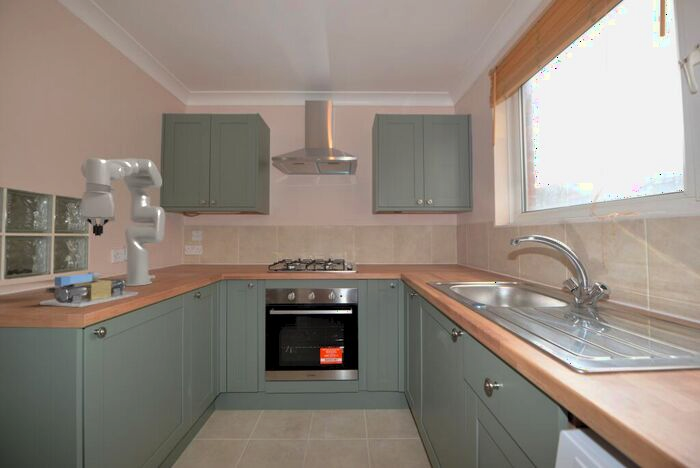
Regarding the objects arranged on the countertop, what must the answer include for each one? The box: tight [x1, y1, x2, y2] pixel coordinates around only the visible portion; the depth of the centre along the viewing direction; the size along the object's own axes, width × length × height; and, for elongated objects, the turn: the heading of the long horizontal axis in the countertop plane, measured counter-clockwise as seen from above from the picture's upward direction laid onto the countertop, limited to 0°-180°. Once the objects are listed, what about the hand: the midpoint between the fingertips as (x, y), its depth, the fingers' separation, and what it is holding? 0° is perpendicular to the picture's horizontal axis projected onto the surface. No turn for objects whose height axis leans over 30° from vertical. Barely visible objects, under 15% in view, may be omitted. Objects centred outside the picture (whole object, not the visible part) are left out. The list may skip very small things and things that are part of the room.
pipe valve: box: [39, 278, 139, 308], centre depth 122 cm, size 24×18×7 cm
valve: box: [45, 284, 75, 292], centre depth 138 cm, size 6×26×15 cm
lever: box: [54, 271, 100, 287], centre depth 117 cm, size 15×4×4 cm, turn 171°
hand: (98, 235), depth 120 cm, fingers closed
